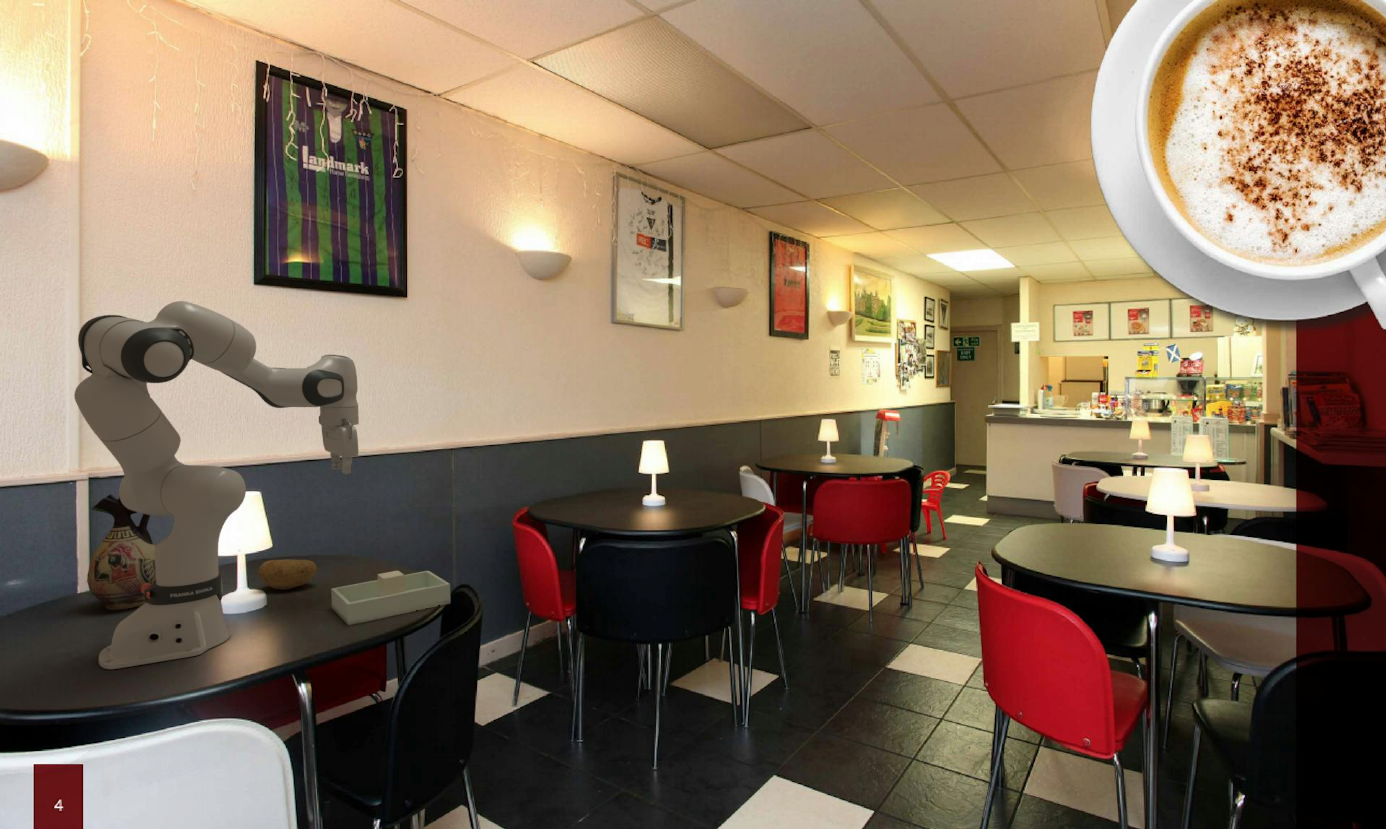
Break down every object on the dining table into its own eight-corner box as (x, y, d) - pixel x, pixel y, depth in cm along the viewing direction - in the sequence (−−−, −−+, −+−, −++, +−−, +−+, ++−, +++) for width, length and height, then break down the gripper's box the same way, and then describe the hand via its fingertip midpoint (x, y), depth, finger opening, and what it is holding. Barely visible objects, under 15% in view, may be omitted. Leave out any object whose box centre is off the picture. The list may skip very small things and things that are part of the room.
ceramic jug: (78, 619, 168) (71, 495, 166) (101, 599, 182) (95, 485, 180) (165, 608, 174) (158, 489, 172) (181, 591, 188) (175, 480, 187)
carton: (384, 606, 173) (383, 578, 172) (378, 601, 176) (377, 574, 176) (405, 602, 176) (404, 574, 175) (398, 597, 180) (398, 570, 179)
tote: (348, 625, 163) (347, 604, 162) (331, 608, 175) (331, 588, 174) (450, 603, 178) (450, 584, 178) (428, 588, 190) (428, 570, 190)
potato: (310, 592, 187) (309, 562, 187) (252, 595, 185) (251, 565, 184) (322, 581, 197) (321, 553, 196) (267, 584, 194) (266, 556, 194)
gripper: (364, 419, 174) (366, 474, 175) (342, 415, 190) (344, 466, 191) (336, 421, 170) (338, 477, 171) (317, 416, 186) (319, 468, 187)
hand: (341, 471), depth 181 cm, fingers open, 8 cm apart
